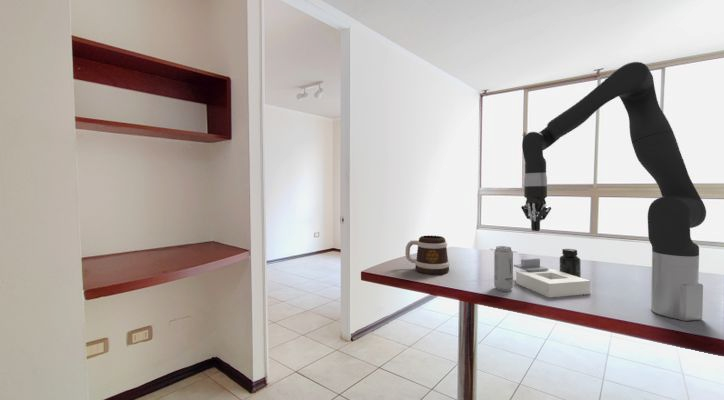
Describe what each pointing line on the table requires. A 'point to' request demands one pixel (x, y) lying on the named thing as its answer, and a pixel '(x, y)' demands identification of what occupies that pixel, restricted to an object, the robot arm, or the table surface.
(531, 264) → the grey stepped block
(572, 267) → the supplement bottle
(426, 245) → the mug
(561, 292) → the socket plate
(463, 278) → the table surface
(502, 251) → the energy drink can
